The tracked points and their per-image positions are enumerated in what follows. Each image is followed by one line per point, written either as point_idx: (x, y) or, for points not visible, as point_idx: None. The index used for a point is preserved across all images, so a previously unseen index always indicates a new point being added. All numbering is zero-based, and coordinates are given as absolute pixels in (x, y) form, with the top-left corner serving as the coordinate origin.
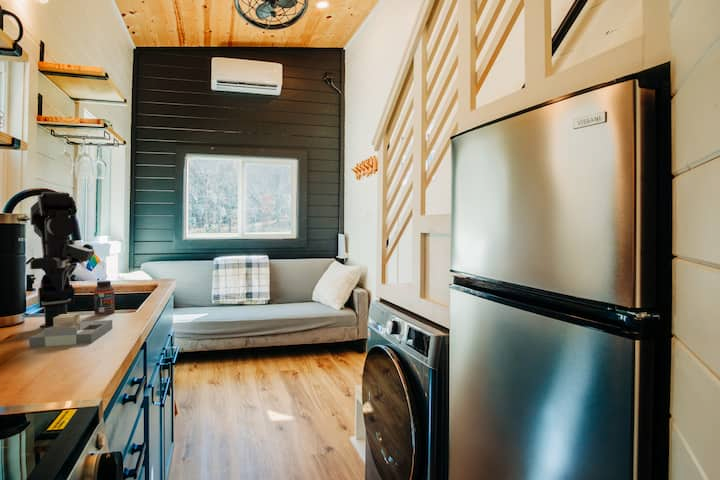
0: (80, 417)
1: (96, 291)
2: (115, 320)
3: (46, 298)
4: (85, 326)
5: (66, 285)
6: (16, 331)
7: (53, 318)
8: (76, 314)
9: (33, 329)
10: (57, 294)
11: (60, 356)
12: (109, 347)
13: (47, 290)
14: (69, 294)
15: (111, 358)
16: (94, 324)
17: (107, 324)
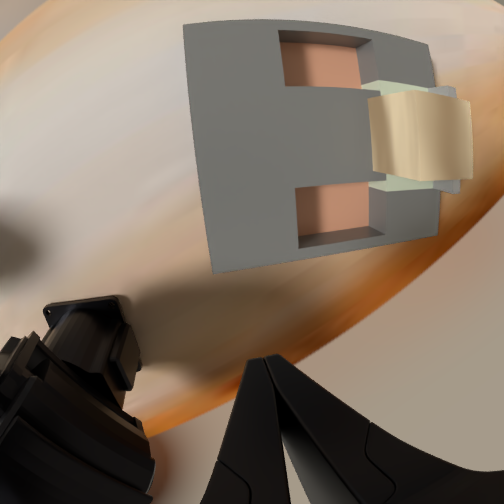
0: None
1: None
2: (24, 122)
3: (141, 433)
4: (315, 94)
5: (28, 428)
6: (187, 401)
7: (470, 177)
8: (435, 96)
9: (160, 373)
10: (98, 416)
11: (485, 104)
12: (438, 7)
13: (134, 469)
14: (30, 372)
15: (488, 11)
16: (278, 66)
17: (256, 22)
